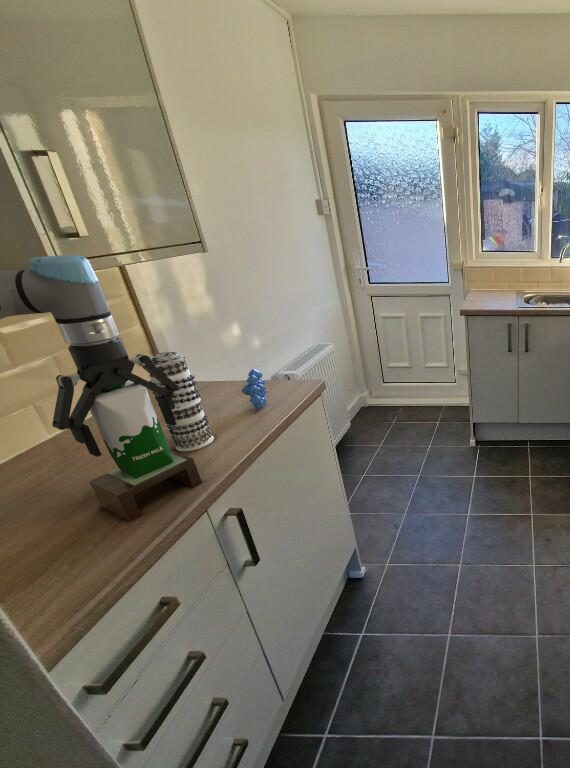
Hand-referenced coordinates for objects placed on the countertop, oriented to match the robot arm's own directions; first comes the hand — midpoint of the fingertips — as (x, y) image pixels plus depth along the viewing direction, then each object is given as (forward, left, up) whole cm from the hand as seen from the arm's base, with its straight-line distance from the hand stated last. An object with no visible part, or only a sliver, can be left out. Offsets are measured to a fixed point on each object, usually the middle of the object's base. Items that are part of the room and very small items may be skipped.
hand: (136, 438), depth 87 cm
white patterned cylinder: (-15, +16, -14) cm, 26 cm away
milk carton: (0, 0, -7) cm, 7 cm away
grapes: (-20, +38, -14) cm, 45 cm away
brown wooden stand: (0, -1, -14) cm, 14 cm away
